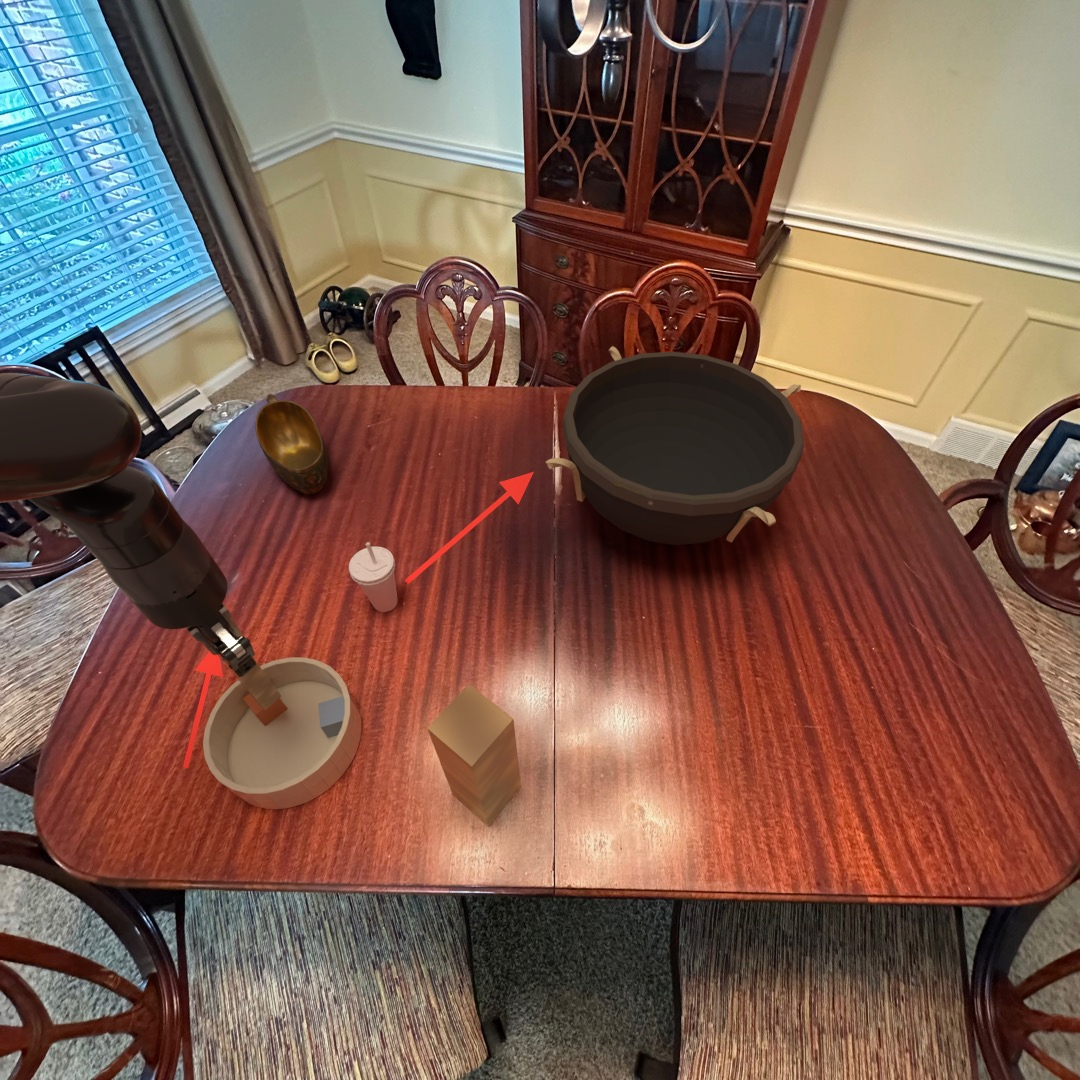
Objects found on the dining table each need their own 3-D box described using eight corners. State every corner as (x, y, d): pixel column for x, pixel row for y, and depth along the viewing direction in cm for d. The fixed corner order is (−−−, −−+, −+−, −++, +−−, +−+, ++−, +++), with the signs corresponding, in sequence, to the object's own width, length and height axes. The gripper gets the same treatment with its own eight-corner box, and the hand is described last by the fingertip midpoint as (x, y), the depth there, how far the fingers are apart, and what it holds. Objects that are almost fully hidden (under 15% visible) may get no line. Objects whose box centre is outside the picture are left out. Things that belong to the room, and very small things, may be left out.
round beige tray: (277, 841, 70) (258, 826, 66) (197, 749, 78) (175, 730, 73) (389, 729, 79) (379, 709, 74) (307, 656, 86) (294, 634, 82)
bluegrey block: (328, 738, 78) (320, 727, 75) (325, 714, 80) (318, 703, 77) (354, 730, 78) (347, 719, 76) (351, 706, 81) (344, 695, 78)
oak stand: (488, 827, 71) (471, 766, 56) (452, 794, 74) (426, 727, 58) (521, 786, 74) (513, 718, 59) (485, 756, 77) (469, 683, 61)
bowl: (780, 468, 110) (817, 375, 95) (750, 621, 89) (792, 533, 74) (596, 424, 119) (603, 333, 104) (529, 555, 98) (525, 464, 82)
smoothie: (399, 622, 90) (378, 564, 79) (358, 616, 90) (332, 559, 80) (411, 587, 94) (393, 528, 83) (372, 582, 95) (349, 523, 84)
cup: (346, 430, 119) (332, 387, 111) (331, 503, 106) (313, 460, 98) (280, 434, 118) (261, 391, 111) (256, 507, 105) (233, 465, 98)
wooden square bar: (265, 710, 74) (218, 652, 64) (253, 699, 75) (205, 639, 64) (281, 696, 75) (238, 636, 65) (270, 685, 76) (225, 625, 66)
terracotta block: (265, 726, 79) (255, 715, 76) (252, 709, 80) (242, 698, 78) (288, 708, 80) (279, 697, 78) (275, 692, 82) (266, 680, 79)
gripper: (89, 557, 56) (176, 651, 69) (166, 637, 50) (246, 723, 64) (165, 511, 60) (234, 609, 73) (245, 581, 54) (304, 673, 67)
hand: (239, 662), depth 68 cm, fingers closed on wooden square bar, 2 cm apart
